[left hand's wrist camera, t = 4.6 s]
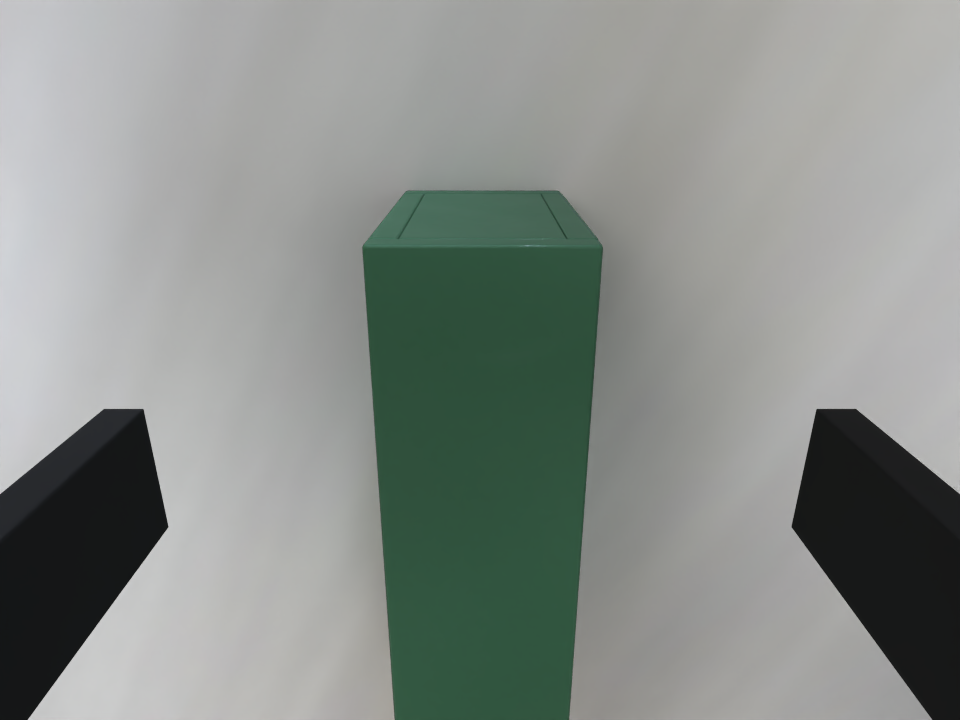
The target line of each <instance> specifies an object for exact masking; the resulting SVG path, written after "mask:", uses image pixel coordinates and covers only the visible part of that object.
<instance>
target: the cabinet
mask: <svg viewBox="0 0 960 720" xmlns="http://www.w3.org/2000/svg"><path fill="white" fill-rule="evenodd" d="M362 250H363V264H364V279H365V293H366V308H367V323H368V337H369V352H370V366H371V381H372V395H373V410H374V424H375V439H376V454H377V468H378V483H379V497H380V512H381V526H382V541H383V556H384V570H385V585H386V599H387V614H388V628H389V643H390V658H391V672H392V687H393V701H394V716H395V720H569V713H570V699H571V685H572V672H573V658H574V644H575V630H576V616H577V602H578V588H579V574H580V560H581V546H582V532H583V519H584V505H585V491H586V477H587V463H588V449H589V435H590V421H591V407H592V393H593V380H594V366H595V352H596V338H597V324H598V310H599V296H600V282H601V268H602V254H603V247H602V245H601V243H600V242H599V241H598V239H597V237H596V236H595V235H594V234H593V232H592V231H591V230H590V229H589V227H588V226H587V225H586V224H585V222H584V221H583V220H582V218H581V217H580V216H579V215H578V213H577V212H576V211H575V210H574V208H573V207H572V206H571V205H570V203H569V202H568V201H567V200H566V198H565V197H564V196H563V195H562V194H561V193H560V192H559V191H406V192H405V193H404V195H403V196H402V197H401V198H400V200H399V201H398V202H397V203H396V205H395V206H394V207H393V208H392V210H391V211H390V212H389V213H388V215H387V216H386V217H385V219H384V220H383V221H382V222H381V224H380V225H379V226H378V227H377V229H376V230H375V231H374V232H373V234H372V235H371V236H370V237H369V239H368V240H367V241H366V242H365V244H364V245H363V248H362Z"/></svg>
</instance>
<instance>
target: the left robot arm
mask: <svg viewBox="0 0 960 720" xmlns="http://www.w3.org/2000/svg"><path fill="white" fill-rule="evenodd" d="M167 528H168V523H167V518H166V513H165V509H164V504H163V499H162V494H161V490H160V485H159V480H158V476H157V471H156V466H155V461H154V457H153V452H152V447H151V443H150V438H149V433H148V428H147V424H146V419H145V414H144V410H143V409H104V410H102V411H101V412H100V413H99V414H97V415H96V416H95V417H94V418H93V419H91V420H90V421H89V422H88V423H87V424H85V425H84V426H83V427H82V428H80V429H79V430H78V431H77V432H76V433H74V434H73V435H72V436H71V437H69V438H68V439H67V440H66V441H65V442H63V443H62V444H61V445H60V446H58V447H57V448H56V449H55V450H54V451H52V452H51V453H50V454H49V455H48V456H46V457H45V458H44V459H43V460H41V461H40V462H39V463H38V464H37V465H35V466H34V467H33V468H32V469H30V470H29V471H28V472H27V473H26V474H24V475H23V476H22V477H21V478H19V479H18V480H17V481H16V482H15V483H13V484H12V485H11V486H10V487H8V488H7V489H6V490H5V491H4V492H2V493H1V494H0V720H28V718H29V717H30V716H31V714H32V713H33V712H34V710H35V709H36V708H37V706H38V705H39V703H40V702H41V701H42V699H43V698H44V697H45V695H46V694H47V692H48V691H49V690H50V688H51V687H52V686H53V684H54V683H55V682H56V680H57V679H58V677H59V676H60V675H61V673H62V672H63V671H64V669H65V668H66V666H67V665H68V664H69V662H70V661H71V660H72V658H73V657H74V656H75V654H76V653H77V651H78V650H79V649H80V647H81V646H82V645H83V643H84V642H85V640H86V639H87V638H88V636H89V635H90V634H91V632H92V631H93V630H94V628H95V627H96V625H97V624H98V623H99V621H100V620H101V619H102V617H103V616H104V614H105V613H106V612H107V610H108V609H109V608H110V606H111V605H112V604H113V602H114V601H115V599H116V598H117V597H118V595H119V594H120V593H121V591H122V590H123V588H124V587H125V586H126V584H127V583H128V582H129V580H130V579H131V578H132V576H133V575H134V573H135V572H136V571H137V569H138V568H139V567H140V565H141V564H142V562H143V561H144V560H145V558H146V557H147V556H148V554H149V553H150V552H151V550H152V549H153V547H154V546H155V545H156V543H157V542H158V541H159V539H160V538H161V536H162V535H163V534H164V532H165V531H166V530H167ZM792 528H793V530H794V531H795V532H796V534H797V535H798V536H799V538H800V539H801V541H802V542H803V543H804V545H805V546H806V547H807V549H808V550H809V552H810V553H811V554H812V556H813V557H814V558H815V560H816V561H817V562H818V564H819V565H820V567H821V568H822V569H823V571H824V572H825V573H826V575H827V576H828V578H829V579H830V580H831V582H832V583H833V584H834V586H835V587H836V588H837V590H838V591H839V593H840V594H841V595H842V597H843V598H844V599H845V601H846V602H847V604H848V605H849V606H850V608H851V609H852V610H853V612H854V613H855V614H856V616H857V617H858V619H859V620H860V621H861V623H862V624H863V625H864V627H865V628H866V630H867V631H868V632H869V634H870V635H871V636H872V638H873V639H874V640H875V642H876V643H877V645H878V646H879V647H880V649H881V650H882V651H883V653H884V654H885V656H886V657H887V658H888V660H889V661H890V662H891V664H892V665H893V666H894V668H895V669H896V671H897V672H898V673H899V675H900V676H901V677H902V679H903V680H904V682H905V683H906V684H907V686H908V687H909V688H910V690H911V691H912V692H913V694H914V695H915V697H916V698H917V699H918V701H919V702H920V703H921V705H922V706H923V708H924V709H925V710H926V712H927V713H928V714H929V716H930V717H931V718H932V720H960V494H959V493H958V492H956V491H955V490H954V489H953V488H951V487H950V486H949V485H948V484H947V483H945V482H944V481H943V480H942V479H941V478H939V477H938V476H937V475H936V474H934V473H933V472H932V471H931V470H930V469H928V468H927V467H926V466H925V465H923V464H922V463H921V462H920V461H919V460H917V459H916V458H915V457H914V456H912V455H911V454H910V453H909V452H908V451H906V450H905V449H904V448H903V447H902V446H900V445H899V444H898V443H897V442H895V441H894V440H893V439H892V438H891V437H889V436H888V435H887V434H886V433H884V432H883V431H882V430H881V429H880V428H878V427H877V426H876V425H875V424H873V423H872V422H871V421H870V420H869V419H867V418H866V417H865V416H864V415H863V414H861V413H860V412H859V411H858V410H856V409H817V410H816V414H815V419H814V424H813V428H812V433H811V438H810V443H809V447H808V452H807V457H806V461H805V466H804V471H803V476H802V480H801V485H800V490H799V494H798V499H797V504H796V509H795V513H794V518H793V523H792Z"/></svg>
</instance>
